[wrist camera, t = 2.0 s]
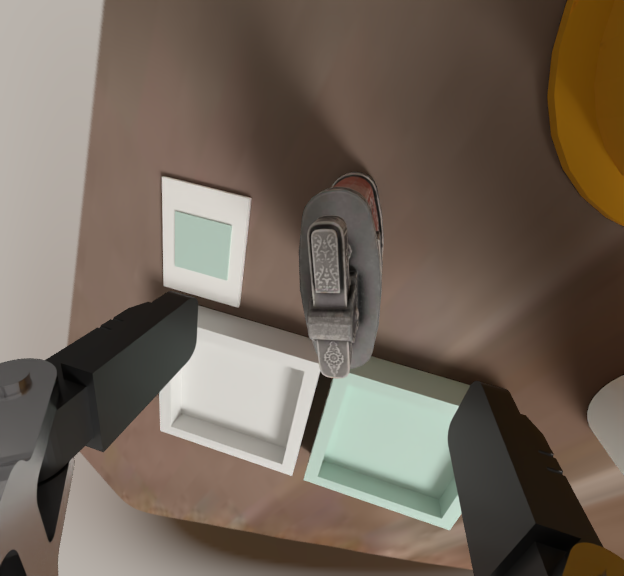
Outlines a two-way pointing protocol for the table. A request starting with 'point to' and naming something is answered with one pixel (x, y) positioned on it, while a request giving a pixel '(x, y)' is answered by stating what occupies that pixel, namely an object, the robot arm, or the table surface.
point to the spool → (590, 102)
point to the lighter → (342, 272)
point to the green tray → (390, 440)
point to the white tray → (243, 391)
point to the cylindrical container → (609, 419)
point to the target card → (204, 240)
